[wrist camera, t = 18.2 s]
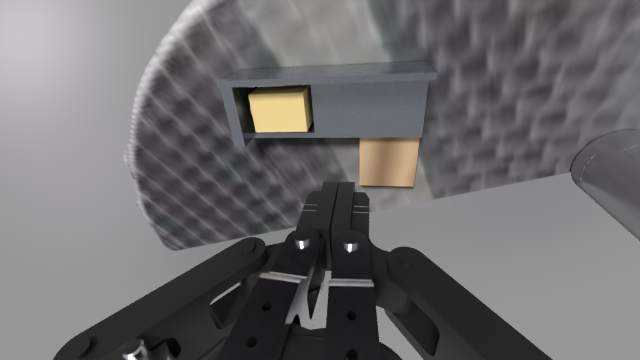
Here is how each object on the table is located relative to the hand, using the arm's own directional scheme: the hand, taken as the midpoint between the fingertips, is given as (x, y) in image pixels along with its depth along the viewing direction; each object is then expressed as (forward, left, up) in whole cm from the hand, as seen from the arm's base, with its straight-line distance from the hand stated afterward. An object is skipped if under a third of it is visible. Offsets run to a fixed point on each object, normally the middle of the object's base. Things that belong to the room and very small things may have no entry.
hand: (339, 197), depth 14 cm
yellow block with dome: (+7, +3, -25) cm, 26 cm away
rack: (+4, +3, -27) cm, 27 cm away
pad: (-4, +12, -27) cm, 30 cm away
